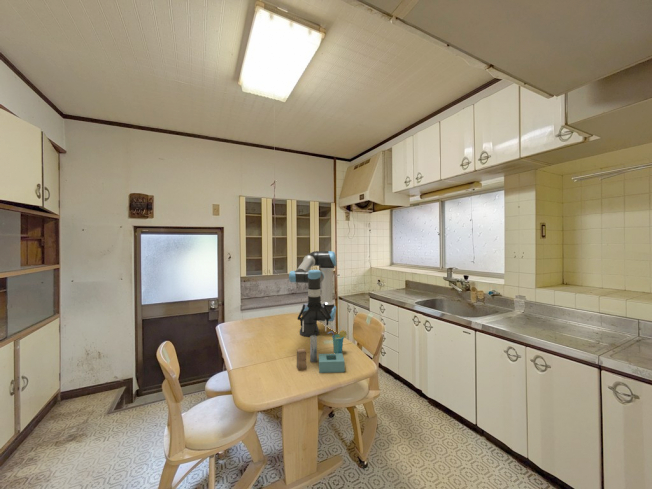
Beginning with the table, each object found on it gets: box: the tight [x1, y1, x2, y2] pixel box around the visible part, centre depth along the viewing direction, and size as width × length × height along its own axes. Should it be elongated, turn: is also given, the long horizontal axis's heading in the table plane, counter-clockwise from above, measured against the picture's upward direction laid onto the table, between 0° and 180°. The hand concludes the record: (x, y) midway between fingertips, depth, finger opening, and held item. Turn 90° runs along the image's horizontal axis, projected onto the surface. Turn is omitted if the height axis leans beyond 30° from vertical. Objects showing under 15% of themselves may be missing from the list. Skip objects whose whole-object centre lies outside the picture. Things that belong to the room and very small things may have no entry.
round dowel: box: [309, 335, 318, 363], centre depth 152 cm, size 4×4×15 cm
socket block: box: [318, 352, 346, 374], centre depth 143 cm, size 10×14×6 cm
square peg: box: [296, 348, 307, 371], centre depth 143 cm, size 4×4×10 cm
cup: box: [326, 330, 348, 354], centre depth 163 cm, size 14×8×15 cm, turn 119°
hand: (314, 330), depth 152 cm, fingers open, 13 cm apart
